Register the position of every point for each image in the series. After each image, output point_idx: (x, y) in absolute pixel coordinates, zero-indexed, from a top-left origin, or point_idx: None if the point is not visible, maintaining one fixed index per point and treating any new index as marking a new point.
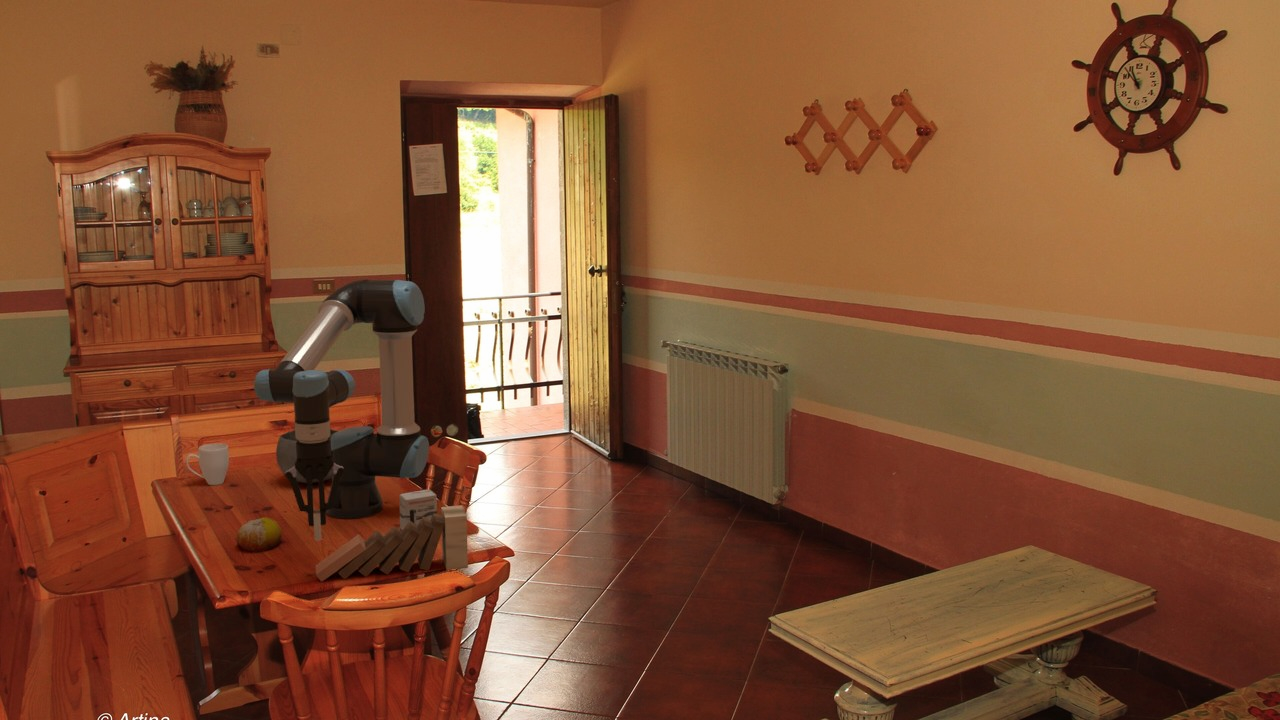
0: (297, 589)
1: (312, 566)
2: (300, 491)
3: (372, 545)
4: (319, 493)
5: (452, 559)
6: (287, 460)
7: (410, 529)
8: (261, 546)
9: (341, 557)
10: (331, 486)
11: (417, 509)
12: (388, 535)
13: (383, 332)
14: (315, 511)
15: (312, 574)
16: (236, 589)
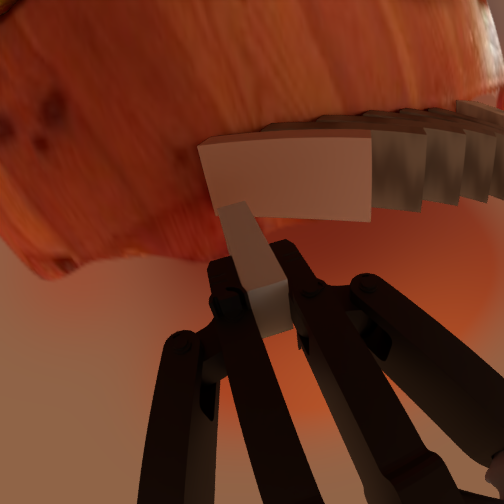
0: (178, 246)
1: (172, 92)
2: (190, 454)
3: (392, 207)
4: (341, 426)
5: None
6: None
7: (483, 192)
8: (1, 13)
9: (299, 217)
10: (443, 386)
11: None
12: (437, 157)
13: None
14: (263, 312)
15: (188, 152)
16: (45, 252)
